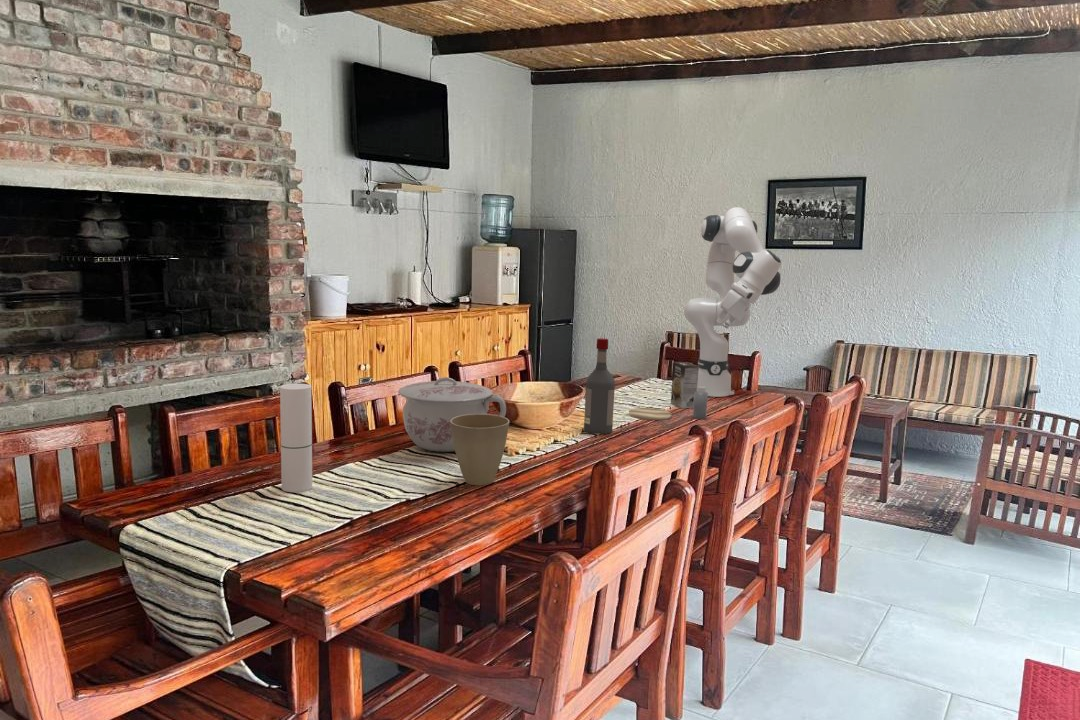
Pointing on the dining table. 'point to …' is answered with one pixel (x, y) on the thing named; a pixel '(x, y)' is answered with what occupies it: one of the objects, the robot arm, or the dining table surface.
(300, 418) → the cylindrical container
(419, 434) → the chamber pot
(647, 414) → the trivet
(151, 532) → the dining table surface
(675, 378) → the coffee box
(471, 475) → the plant pot
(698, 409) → the small gray bottle
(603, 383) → the liquor
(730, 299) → the robot arm
